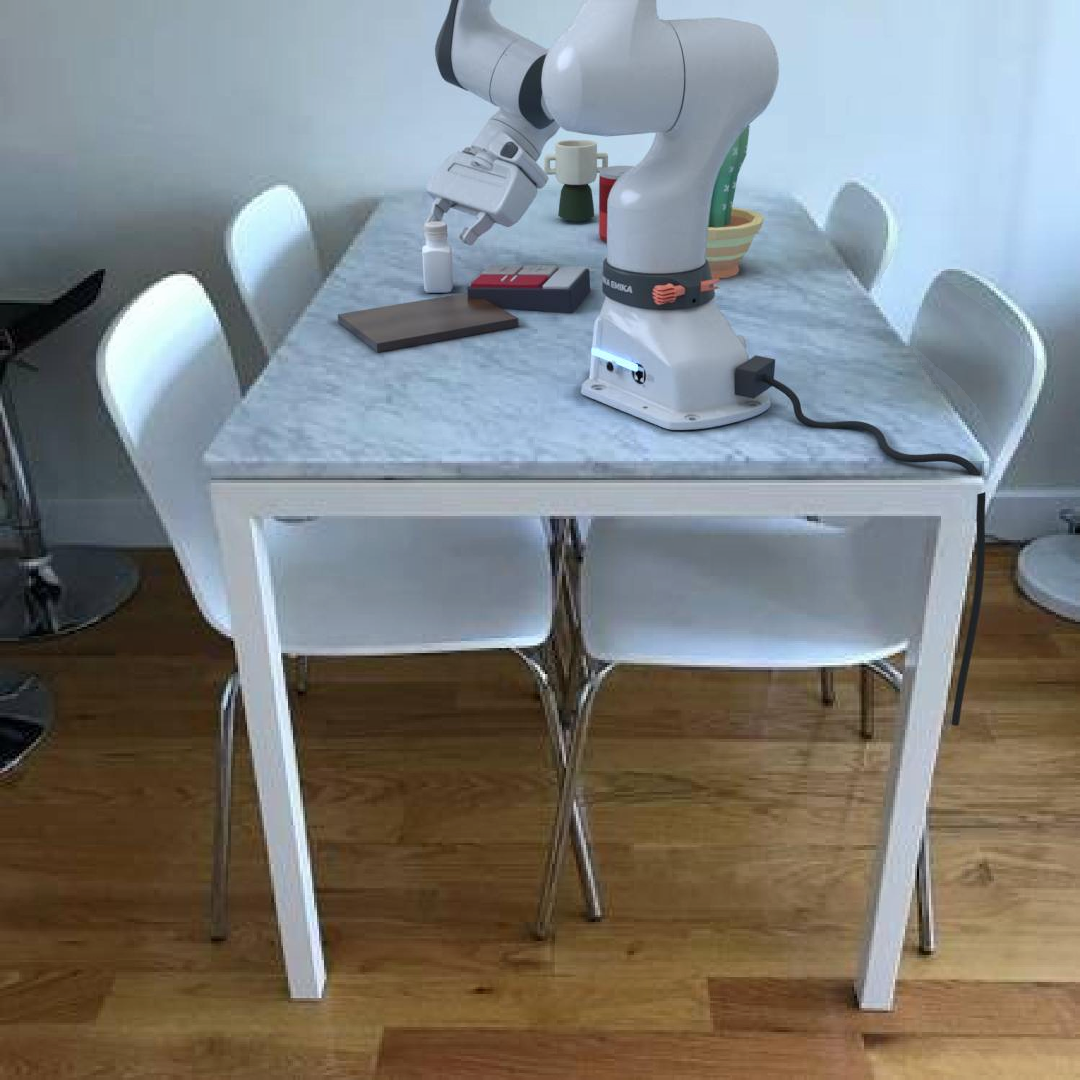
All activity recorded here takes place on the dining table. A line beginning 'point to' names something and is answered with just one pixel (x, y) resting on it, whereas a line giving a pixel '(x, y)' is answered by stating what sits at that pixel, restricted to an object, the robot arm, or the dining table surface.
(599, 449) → the dining table surface
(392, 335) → the board
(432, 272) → the pepper shaker
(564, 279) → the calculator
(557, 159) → the trophy
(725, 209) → the potted cactus
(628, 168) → the canned food
